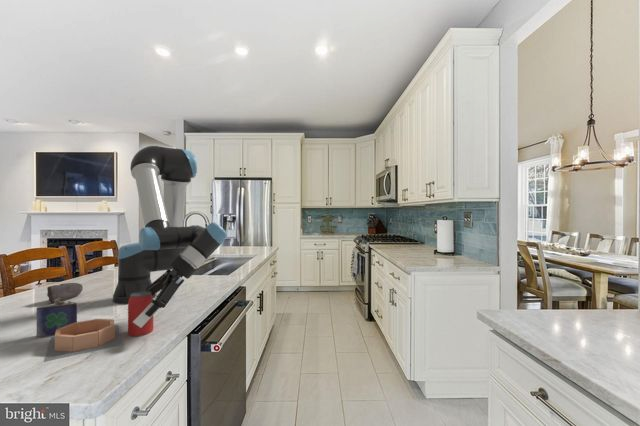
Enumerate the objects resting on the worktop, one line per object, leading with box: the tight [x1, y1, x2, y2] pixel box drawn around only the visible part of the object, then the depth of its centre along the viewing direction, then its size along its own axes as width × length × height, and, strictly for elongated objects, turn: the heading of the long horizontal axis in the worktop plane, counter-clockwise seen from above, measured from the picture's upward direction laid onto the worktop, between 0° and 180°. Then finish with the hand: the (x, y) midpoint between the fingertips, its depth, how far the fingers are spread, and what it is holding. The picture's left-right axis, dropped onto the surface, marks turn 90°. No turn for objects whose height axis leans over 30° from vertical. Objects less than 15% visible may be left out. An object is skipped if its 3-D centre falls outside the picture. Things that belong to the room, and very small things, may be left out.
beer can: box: [127, 291, 154, 337], centre depth 91 cm, size 7×7×12 cm
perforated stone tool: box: [46, 282, 84, 303], centre depth 126 cm, size 15×5×7 cm, turn 170°
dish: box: [54, 318, 116, 352], centre depth 85 cm, size 13×13×4 cm
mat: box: [43, 324, 124, 363], centre depth 85 cm, size 18×16×1 cm
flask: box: [35, 298, 78, 338], centre depth 90 cm, size 9×3×11 cm, turn 121°
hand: (133, 318), depth 90 cm, fingers open, 13 cm apart
